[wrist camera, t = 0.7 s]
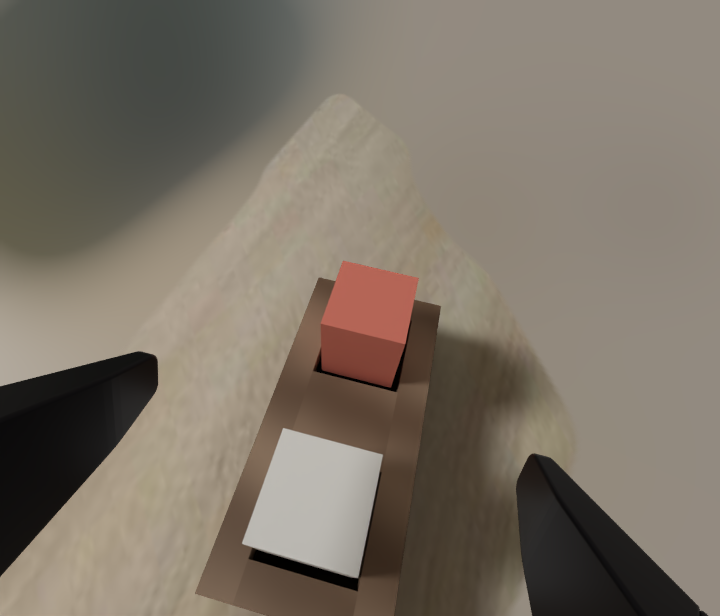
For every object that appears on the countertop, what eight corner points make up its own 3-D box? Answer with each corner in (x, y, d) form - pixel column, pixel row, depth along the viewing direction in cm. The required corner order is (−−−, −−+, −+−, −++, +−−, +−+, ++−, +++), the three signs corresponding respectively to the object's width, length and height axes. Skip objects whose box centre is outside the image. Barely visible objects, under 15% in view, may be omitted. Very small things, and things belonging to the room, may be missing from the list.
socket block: (375, 636, 19) (388, 653, 15) (222, 589, 20) (194, 593, 16) (424, 344, 29) (440, 306, 25) (320, 319, 29) (318, 277, 25)
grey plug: (350, 577, 17) (358, 578, 13) (262, 551, 17) (241, 543, 13) (371, 480, 19) (382, 454, 15) (292, 459, 19) (283, 428, 15)
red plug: (390, 387, 22) (405, 344, 18) (321, 370, 22) (320, 323, 18) (403, 328, 24) (418, 278, 20) (340, 313, 24) (343, 260, 20)
